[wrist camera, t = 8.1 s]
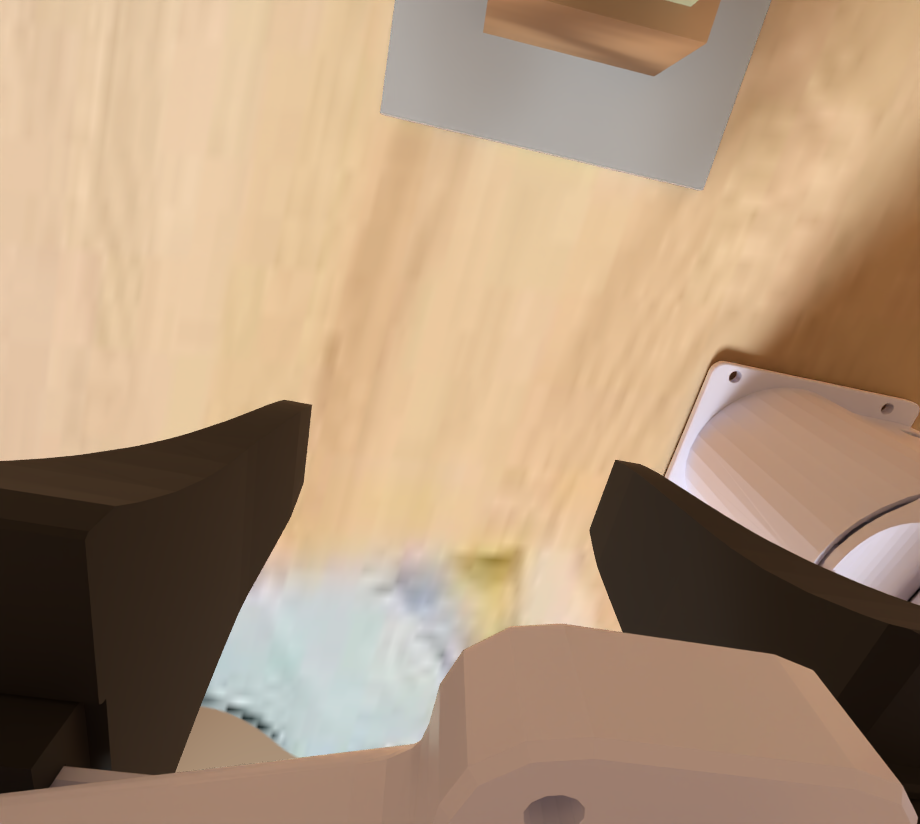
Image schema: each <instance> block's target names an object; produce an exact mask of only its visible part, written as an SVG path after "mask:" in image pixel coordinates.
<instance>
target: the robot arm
mask: <svg viewBox="0 0 920 824" xmlns="http://www.w3.org/2000/svg"><path fill="white" fill-rule="evenodd" d="M734 371H737V375H736V377H735V378H734V379H732V380H729V376H730V374H731V373H732V372H734ZM885 404H887V405H886V407H885V408H884V409H883V410H881V409H882V407H883V406H884V405H885ZM311 409H312V405H310V404H304V403H299V402H293V401H288V400H282V401H278V402H275V403H272V404H269V405H267V406H264V407H261V408H259V409H256V410H254V411H251V412H249V413H246V414H243V415H241V416H238V417H236V418H233V419H230V420H228V421H225V422H222V423H219V424H216V425H213V426H210V427H207V428H204V429H201V430H198V431H195V432H192V433H189V434H185V435H182V436H178V437H174V438H171V439H167V440H162V441H158V442H154V443H149V444H145V445H140V446H135V447H129V448H123V449H116V450H110V451H103V452H97V453H90V454H83V455H75V456H65V457H55V458H44V459H29V460H14V461H0V824H920V431H918V430H916V429H914V428H912V427H911V426H912V424H913V423H914V421H915V419H916V418H917V416H918V414H919V411H920V408H919V406H918V404H916V403H914V402H912V401H910V400H907V399H902V398H897V397H892V396H888V395H883V394H878V393H874V392H869V391H864V390H859V389H855V388H850V387H845V386H840V385H836V384H831V383H826V382H822V381H817V380H812V379H807V378H803V377H798V376H793V375H788V374H784V373H779V372H774V371H770V370H765V369H760V368H755V367H751V366H746V365H741V364H736V363H732V362H727V361H719V362H716V363H715V364H713V365H712V366H711V368H710V369H709V371H708V374H707V376H706V378H705V381H704V383H703V386H702V388H701V390H700V393H699V395H698V398H697V400H696V403H695V405H694V407H693V410H692V412H691V415H690V417H689V419H688V422H687V424H686V427H685V429H684V431H683V434H682V436H681V439H680V441H679V443H678V446H677V448H676V451H675V453H674V455H673V458H672V460H671V463H670V465H669V468H668V470H667V472H666V475H665V477H664V476H662V475H660V474H659V473H657V472H655V471H653V470H651V469H649V468H647V467H645V466H643V465H641V464H636V463H631V462H625V461H619V460H615V462H614V465H613V468H612V470H611V473H610V476H609V478H608V481H607V484H606V487H605V489H604V492H603V495H602V497H601V500H600V503H599V506H598V508H597V511H596V514H595V516H594V519H593V522H592V524H591V527H590V535H591V541H592V546H593V551H594V555H595V559H596V563H597V567H598V570H599V572H600V575H601V578H602V580H603V583H604V586H605V588H606V591H607V594H608V596H609V599H610V601H611V604H612V606H613V609H614V611H615V614H616V616H617V619H618V621H619V624H620V627H621V629H622V632H616V631H609V630H602V629H595V628H588V627H581V626H574V625H567V624H545V625H528V626H512V627H509V628H507V629H505V630H503V631H501V632H499V633H497V634H495V635H493V636H491V637H489V638H487V639H485V640H483V641H481V642H479V643H477V644H475V645H473V646H471V647H469V648H467V649H465V650H463V651H462V653H461V654H460V656H459V657H458V659H457V660H456V662H455V663H454V665H453V666H452V668H451V669H450V671H449V672H448V673H447V675H446V676H445V678H444V679H443V681H442V682H441V684H440V686H439V690H438V693H437V697H436V701H435V704H434V708H433V712H432V715H431V719H430V723H429V725H428V727H427V729H426V731H425V733H424V735H423V738H422V739H421V740H420V741H419V742H417V743H415V744H410V745H402V746H393V747H385V748H377V749H368V750H360V751H352V752H343V753H335V754H327V755H318V756H310V757H302V758H293V759H286V760H278V761H269V762H261V763H253V764H244V765H235V766H227V767H219V768H211V769H202V770H194V771H186V772H177V773H175V771H176V768H177V766H178V763H179V760H180V757H181V755H182V753H183V750H184V748H185V745H186V742H187V739H188V737H189V734H190V731H191V729H192V727H193V724H194V721H195V718H196V716H197V714H198V711H199V708H200V706H201V703H202V701H203V698H204V696H205V693H206V691H207V688H208V686H209V683H210V681H211V678H212V676H213V673H214V671H215V668H216V666H217V663H218V661H219V658H220V656H221V654H222V651H223V649H224V646H225V644H226V642H227V639H228V637H229V635H230V632H231V630H232V627H233V625H234V623H235V620H236V618H237V616H238V613H239V611H240V609H241V607H242V605H243V603H244V601H245V599H246V597H247V595H248V593H249V591H250V590H251V588H252V586H253V584H254V582H255V581H256V579H257V577H258V575H259V574H260V572H261V570H262V568H263V566H264V565H265V563H266V561H267V559H268V557H269V556H270V554H271V552H272V550H273V548H274V547H275V545H276V543H277V541H278V539H279V538H280V536H281V534H282V532H283V530H284V529H285V527H286V525H287V523H288V521H289V519H290V517H291V515H292V512H293V510H294V507H295V505H296V502H297V499H298V497H299V494H300V491H301V488H302V486H303V483H304V474H305V464H306V455H307V446H308V437H309V427H310V418H311Z"/></svg>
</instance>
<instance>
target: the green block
mask: <svg viewBox="0 0 920 824" xmlns="http://www.w3.org/2000/svg"><path fill="white" fill-rule="evenodd" d="M667 1H671V2H674V3H678V4H682V5H686V6H690V7H691V6H692V5H693V4H695V3H696V2H697V1H698V0H667Z"/></svg>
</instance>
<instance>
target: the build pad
mask: <svg viewBox="0 0 920 824" xmlns="http://www.w3.org/2000/svg"><path fill="white" fill-rule="evenodd" d="M487 2H488V0H395V5H394V12H393V20H392V28H391V35H390V43H389V50H388V58H387V65H386V73H385V80H384V88H383V96H382V103H381V111H380V113H381V114H382V115H386V116H391V117H395V118H399V119H403V120H407V121H411V122H416V123H420V124H424V125H428V126H432V127H436V128H441V129H445V130H449V131H453V132H457V133H461V134H466V135H470V136H474V137H478V138H482V139H487V140H491V141H495V142H499V143H503V144H507V145H512V146H516V147H520V148H524V149H528V150H532V151H537V152H541V153H545V154H549V155H553V156H557V157H562V158H566V159H570V160H574V161H578V162H582V163H587V164H591V165H595V166H599V167H603V168H608V169H612V170H616V171H620V172H624V173H628V174H633V175H637V176H641V177H645V178H649V179H653V180H658V181H662V182H666V183H670V184H674V185H678V186H683V187H687V188H691V189H695V190H703V189H704V186H705V183H706V180H707V178H708V175H709V172H710V169H711V167H712V164H713V161H714V158H715V156H716V153H717V150H718V147H719V144H720V142H721V139H722V136H723V133H724V131H725V128H726V125H727V122H728V119H729V117H730V114H731V111H732V108H733V106H734V103H735V100H736V97H737V94H738V92H739V89H740V86H741V83H742V81H743V78H744V75H745V72H746V69H747V67H748V64H749V61H750V58H751V56H752V53H753V50H754V47H755V44H756V42H757V39H758V36H759V33H760V31H761V28H762V25H763V22H764V19H765V17H766V14H767V11H768V8H769V6H770V3H771V0H721V1H720V4H719V7H718V10H717V13H716V16H715V20H714V23H713V26H712V29H711V32H710V35H709V38H708V41H707V43H706V44H705V45H703V46H701V47H700V48H698V49H697V50H695V51H694V52H692V53H690V54H689V55H687V56H686V57H684V58H683V59H681V60H679V61H678V62H676V63H675V64H673V65H672V66H670V67H668V68H667V69H665V70H664V71H662V72H661V73H659V74H657V75H656V76H650V75H646V74H642V73H638V72H634V71H630V70H627V69H623V68H619V67H615V66H611V65H607V64H603V63H599V62H595V61H592V60H588V59H584V58H580V57H576V56H572V55H568V54H564V53H560V52H557V51H553V50H549V49H545V48H541V47H537V46H533V45H529V44H525V43H522V42H518V41H514V40H510V39H506V38H502V37H498V36H494V35H490V34H486V33H483V29H484V22H485V15H486V8H487Z"/></svg>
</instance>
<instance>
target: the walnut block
mask: <svg viewBox="0 0 920 824" xmlns="http://www.w3.org/2000/svg"><path fill="white" fill-rule="evenodd" d="M720 1H721V0H698V1H697V2H696V3H695V4H693V5H692V6H691V7H690V6H686V5H682V4H678V3H674V2H671V1H667V0H488V2H487V8H486V15H485V22H484V29H483V33H486V34H490V35H494V36H498V37H502V38H506V39H510V40H514V41H518V42H522V43H525V44H529V45H533V46H537V47H541V48H545V49H549V50H553V51H557V52H560V53H564V54H568V55H572V56H576V57H580V58H584V59H588V60H592V61H595V62H599V63H603V64H607V65H611V66H615V67H619V68H623V69H627V70H630V71H634V72H638V73H642V74H646V75H650V76H656V75H657V74H659V73H661V72H662V71H664V70H665V69H667V68H668V67H670V66H672V65H673V64H675V63H676V62H678V61H679V60H681V59H683V58H684V57H686V56H687V55H689V54H690V53H692V52H694V51H695V50H697V49H698V48H700V47H701V46H703V45H705V44H706V43H707V41H708V38H709V35H710V32H711V29H712V26H713V23H714V20H715V16H716V13H717V10H718V7H719V4H720Z"/></svg>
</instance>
